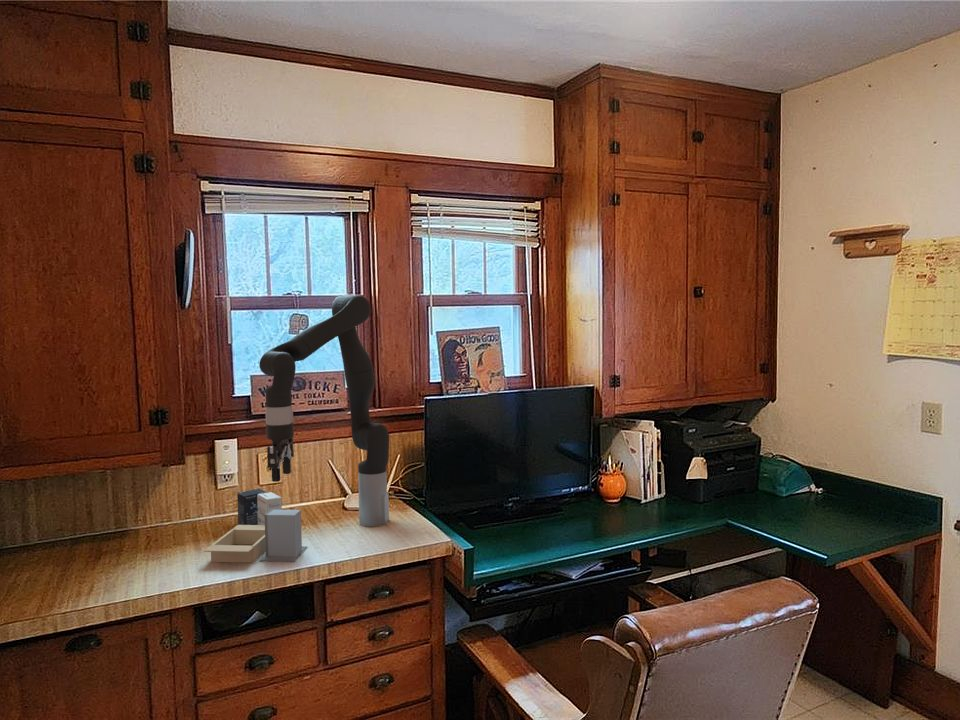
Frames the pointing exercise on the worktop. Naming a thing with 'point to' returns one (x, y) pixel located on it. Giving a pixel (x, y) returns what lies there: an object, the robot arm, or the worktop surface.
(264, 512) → the ink box
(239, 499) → the box
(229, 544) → the beige shallow rectangular tray
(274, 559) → the mat
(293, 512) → the box
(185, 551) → the worktop surface
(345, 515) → the worktop surface
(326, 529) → the worktop surface
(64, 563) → the worktop surface
